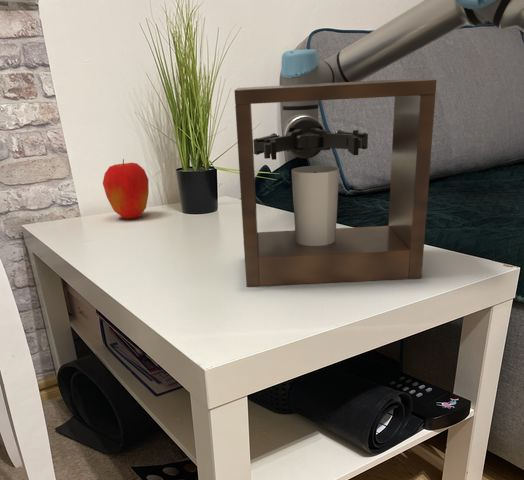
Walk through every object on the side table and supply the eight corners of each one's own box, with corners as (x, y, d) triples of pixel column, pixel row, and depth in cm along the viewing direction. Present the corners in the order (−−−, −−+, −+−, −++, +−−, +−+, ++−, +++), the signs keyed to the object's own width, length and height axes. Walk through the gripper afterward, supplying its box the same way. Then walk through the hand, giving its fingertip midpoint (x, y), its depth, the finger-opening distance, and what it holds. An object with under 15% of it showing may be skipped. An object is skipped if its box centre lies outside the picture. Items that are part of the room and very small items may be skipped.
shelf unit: (398, 250, 91) (408, 79, 81) (421, 278, 79) (436, 79, 68) (247, 257, 91) (237, 87, 81) (246, 286, 79) (234, 90, 68)
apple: (146, 210, 128) (139, 154, 123) (158, 218, 121) (150, 158, 115) (105, 216, 125) (95, 158, 119) (113, 224, 117) (104, 163, 112)
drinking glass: (284, 239, 85) (282, 169, 81) (323, 232, 87) (323, 164, 83) (307, 249, 79) (306, 174, 75) (347, 241, 82) (349, 169, 78)
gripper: (366, 153, 115) (389, 168, 96) (242, 159, 116) (241, 176, 96) (367, 113, 112) (391, 120, 93) (240, 119, 112) (238, 128, 93)
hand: (315, 148), depth 95 cm, fingers open, 13 cm apart
